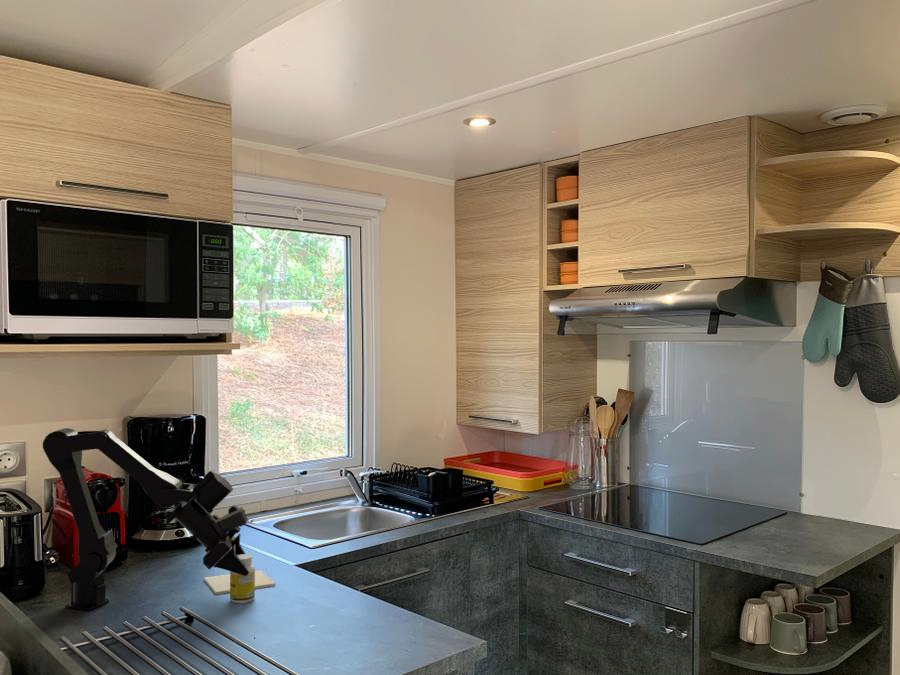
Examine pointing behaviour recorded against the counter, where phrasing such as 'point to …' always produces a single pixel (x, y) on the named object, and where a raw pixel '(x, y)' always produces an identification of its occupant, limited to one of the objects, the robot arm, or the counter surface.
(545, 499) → the counter surface
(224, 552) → the robot arm
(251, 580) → the supplement bottle
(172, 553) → the counter surface
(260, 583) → the rubber mat
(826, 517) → the counter surface
